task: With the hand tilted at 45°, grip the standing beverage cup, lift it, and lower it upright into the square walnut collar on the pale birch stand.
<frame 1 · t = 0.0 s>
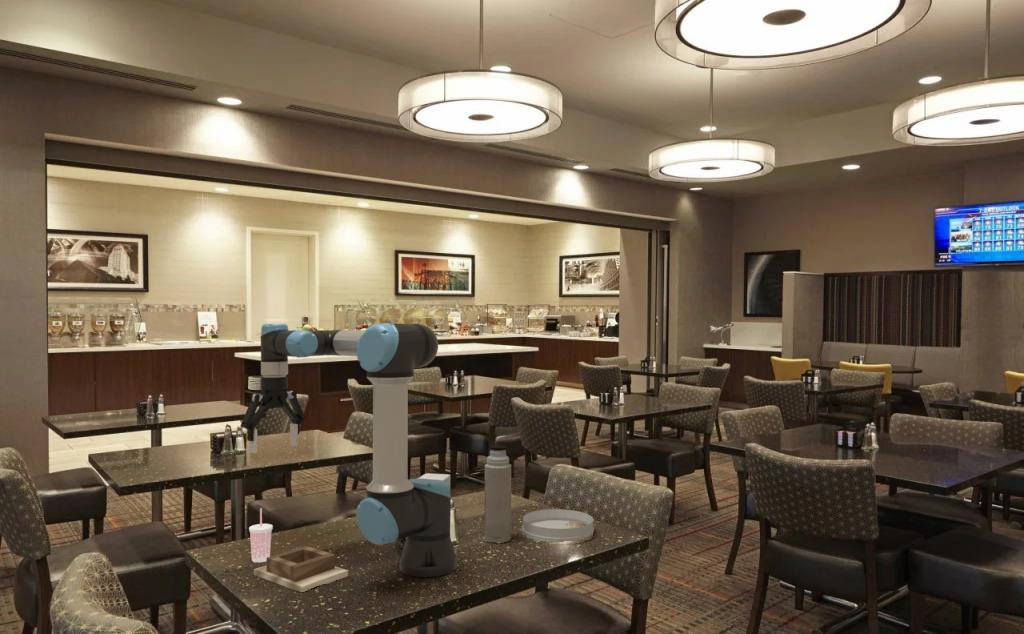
hand: (274, 449, 206), 28 cm above the table, tool pointing down, fingers open, 13 cm apart
beverage cup: (260, 560, 193), on the table
thermos bottle: (497, 540, 211), on the table
collar stand: (300, 575, 180), on the table
dish: (557, 535, 217), on the table
supplement box: (433, 523, 229), on the table
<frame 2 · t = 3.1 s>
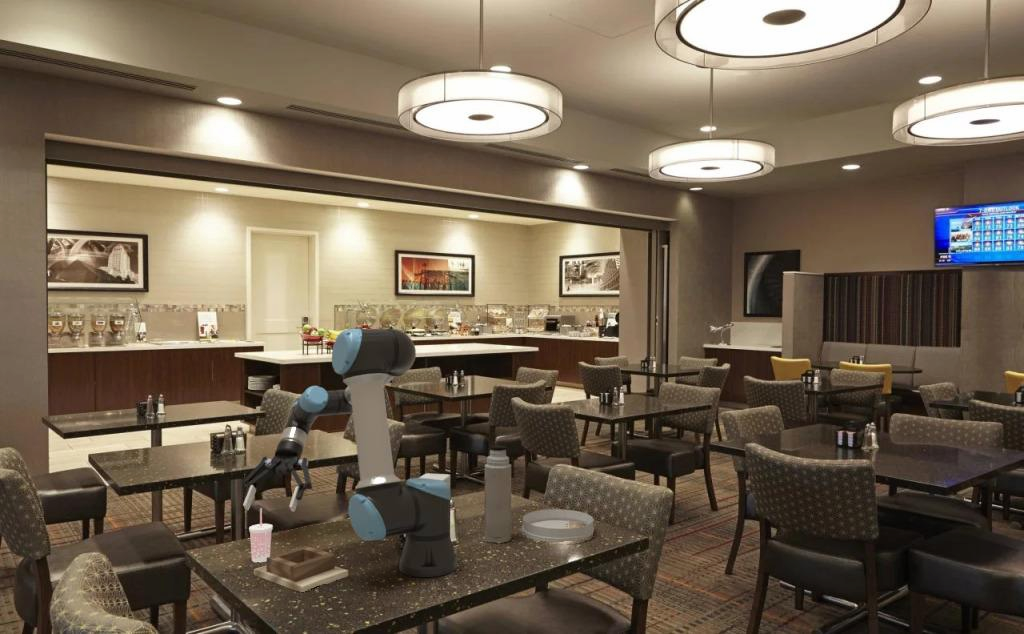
hand: (268, 508, 199), 12 cm above the table, tool tilted 45°, fingers open, 13 cm apart
nothing on the table moved.
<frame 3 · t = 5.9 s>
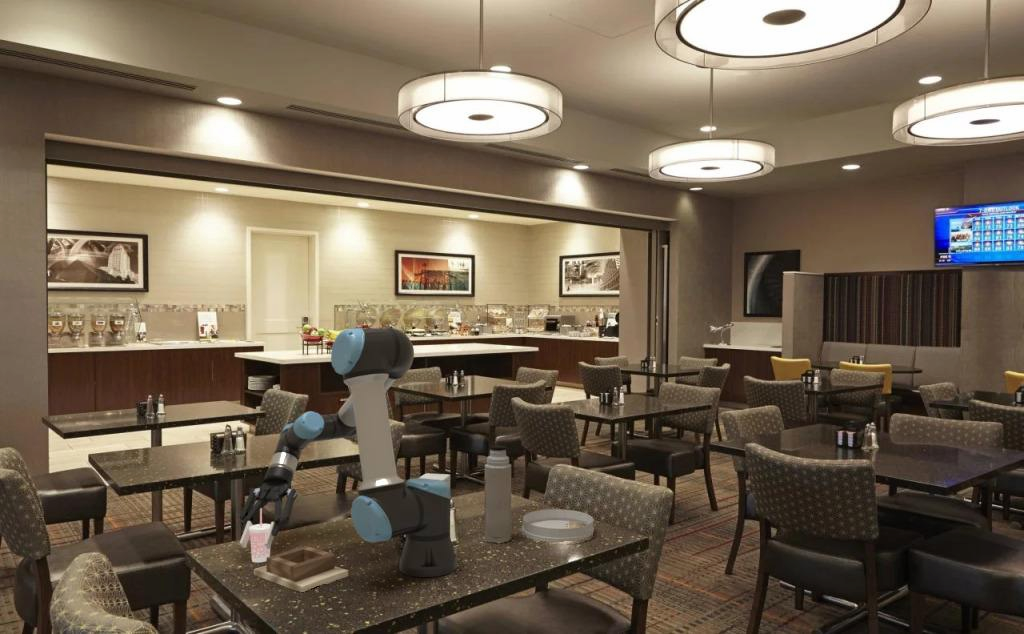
hand: (254, 545, 189), 5 cm above the table, tool tilted 45°, fingers closed on beverage cup, 6 cm apart
beverage cup: (260, 560, 193), on the table, touching gripper
everything else where it was.
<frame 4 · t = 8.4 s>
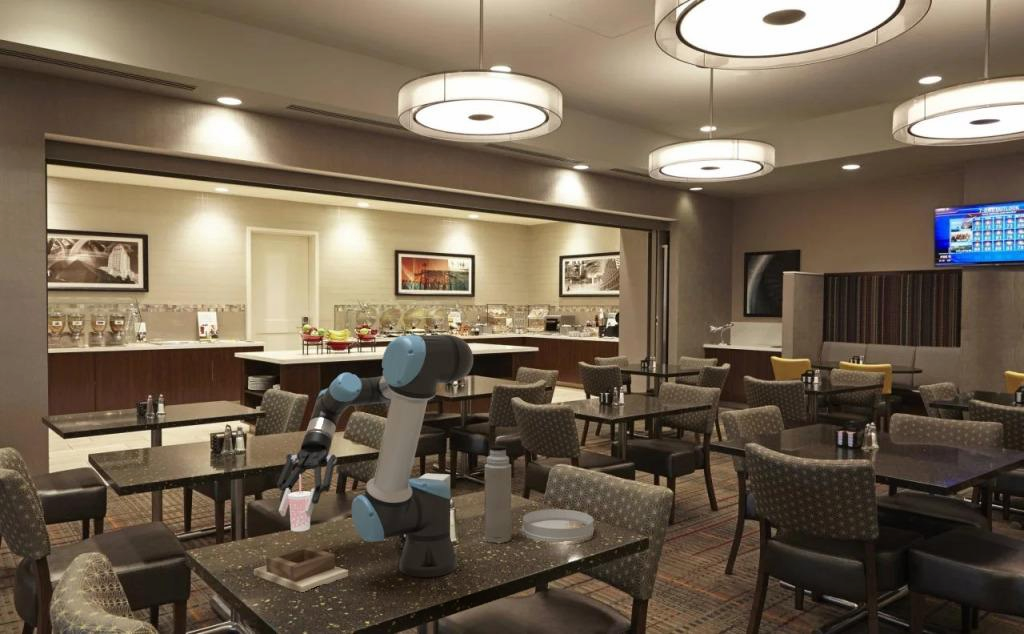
hand: (294, 513, 177), 17 cm above the table, tool tilted 45°, fingers closed on beverage cup, 6 cm apart
beverage cup: (300, 529, 181), point 12 cm above the table, touching gripper
everything else where it was.
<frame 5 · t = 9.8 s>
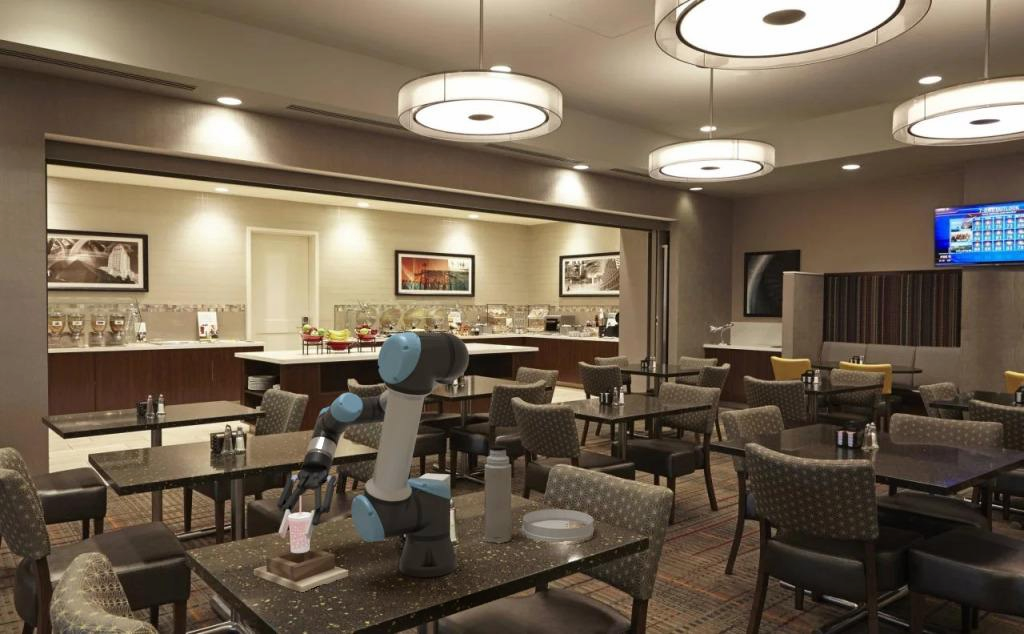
hand: (294, 535, 177), 11 cm above the table, tool tilted 45°, fingers closed on beverage cup, 6 cm apart
beverage cup: (300, 550, 181), point 6 cm above the table, touching gripper
everything else where it was.
when the fingers open (8 cm above the table, at t = 10.9 s): beverage cup drops 1 cm, resting on collar stand.
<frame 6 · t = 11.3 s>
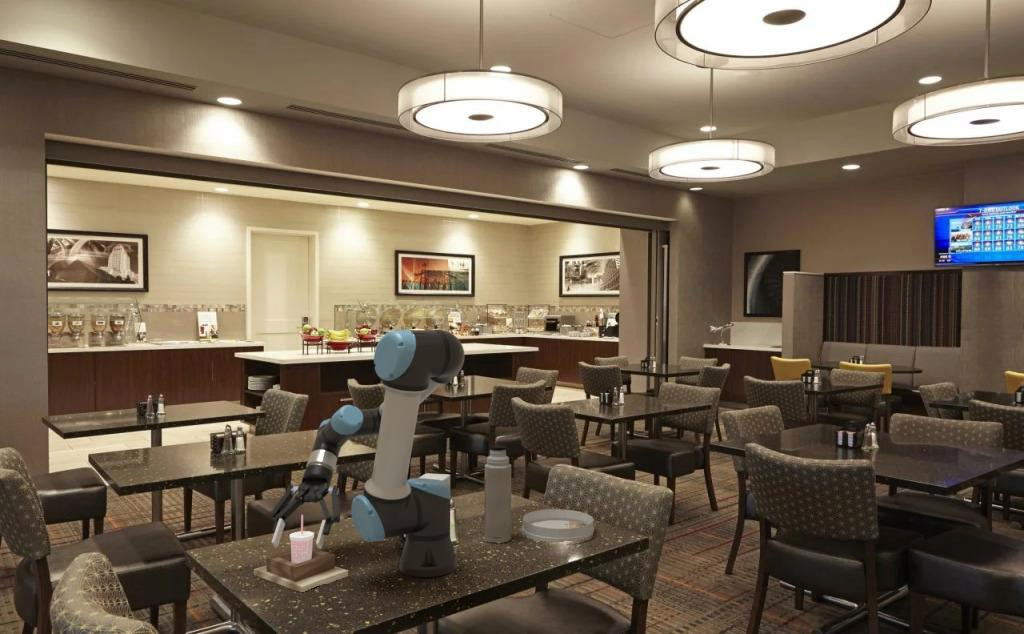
hand: (296, 545, 178), 9 cm above the table, tool tilted 45°, fingers open, 11 cm apart
beverage cup: (301, 570, 180), point 1 cm above the table, touching collar stand
everything else where it was.
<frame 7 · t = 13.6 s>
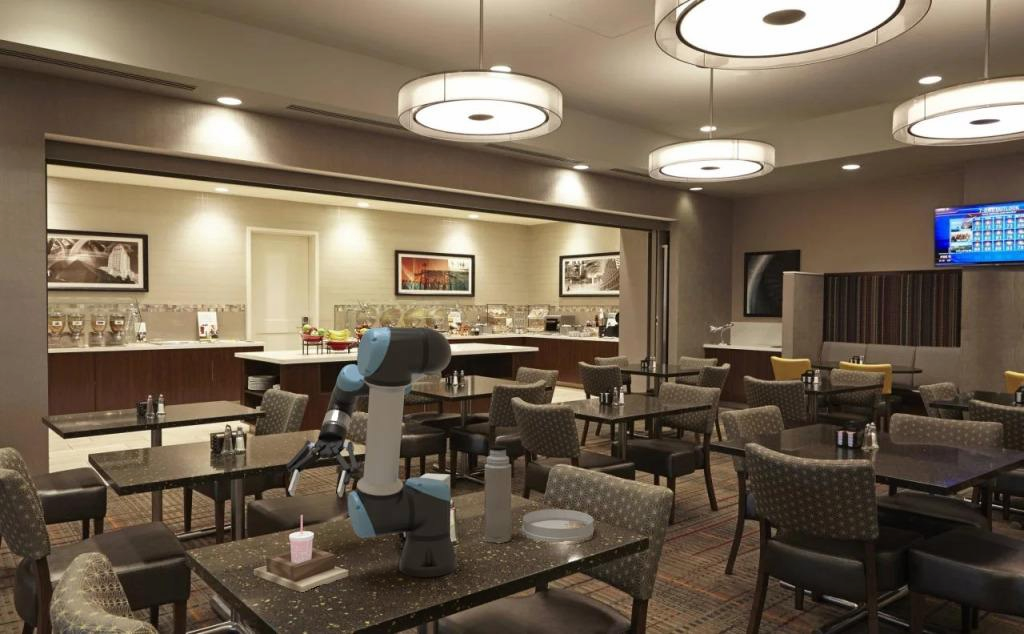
hand: (315, 493, 190), 19 cm above the table, tool tilted 45°, fingers open, 13 cm apart
nothing on the table moved.
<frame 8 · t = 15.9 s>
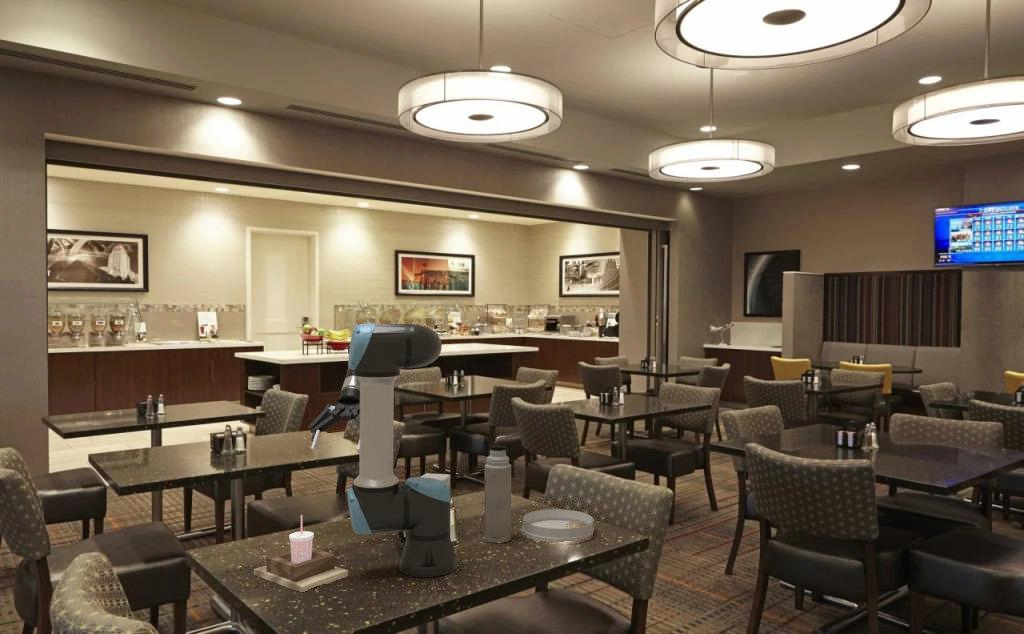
hand: (336, 451, 203), 28 cm above the table, tool tilted 45°, fingers open, 13 cm apart
nothing on the table moved.
at the end: beverage cup 0.1 cm off-centre on the collar stand, point 1.3 cm above the collar stand's base; beverage cup tilted 0°; the gripper is holding nothing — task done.
